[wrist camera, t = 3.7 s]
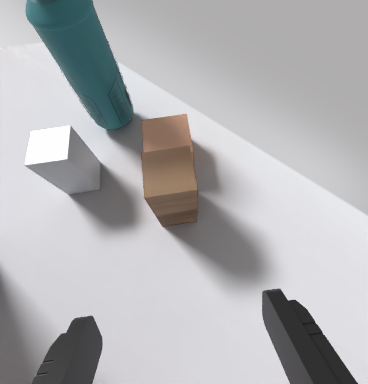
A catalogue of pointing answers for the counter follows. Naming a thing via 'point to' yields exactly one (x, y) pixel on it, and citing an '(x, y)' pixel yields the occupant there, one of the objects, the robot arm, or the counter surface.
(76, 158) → the grey post
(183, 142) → the terracotta block
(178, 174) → the tan rectangular block
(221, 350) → the counter surface
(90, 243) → the counter surface
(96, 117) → the beverage bottle
